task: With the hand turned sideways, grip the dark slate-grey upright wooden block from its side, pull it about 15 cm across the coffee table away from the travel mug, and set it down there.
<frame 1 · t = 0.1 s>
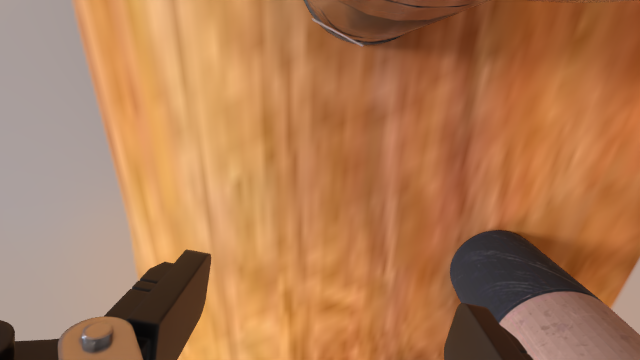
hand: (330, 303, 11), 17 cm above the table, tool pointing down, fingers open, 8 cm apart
travel mug: (491, 266, 30), on the table
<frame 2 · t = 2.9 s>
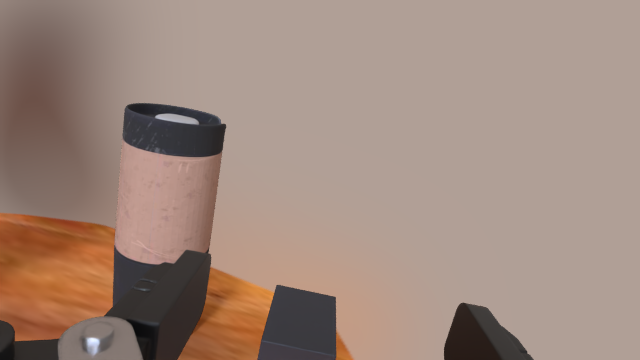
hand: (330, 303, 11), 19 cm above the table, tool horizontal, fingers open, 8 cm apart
travel mug: (155, 325, 34), on the table
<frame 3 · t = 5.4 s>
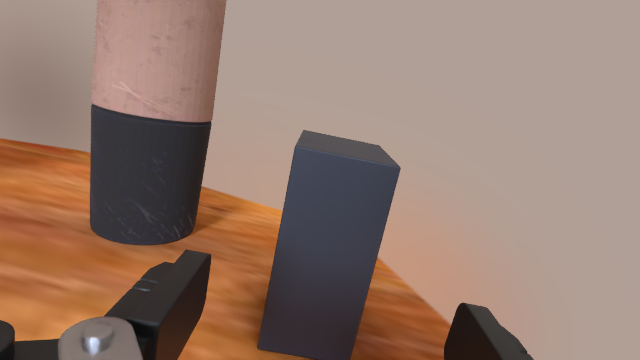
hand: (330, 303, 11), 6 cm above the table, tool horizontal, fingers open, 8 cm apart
slate block: (306, 319, 20), on the table
travel mug: (145, 226, 28), on the table
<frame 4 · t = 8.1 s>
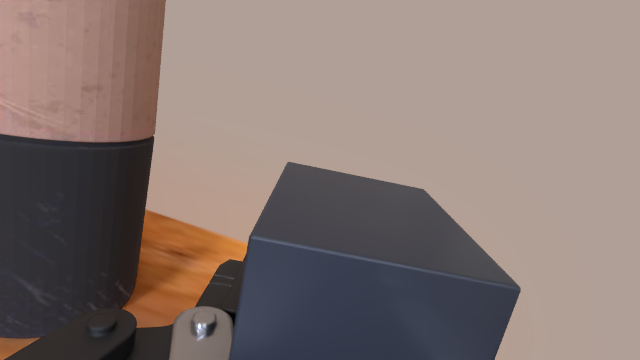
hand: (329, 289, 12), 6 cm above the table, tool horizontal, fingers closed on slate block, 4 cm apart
travel mug: (56, 294, 18), on the table
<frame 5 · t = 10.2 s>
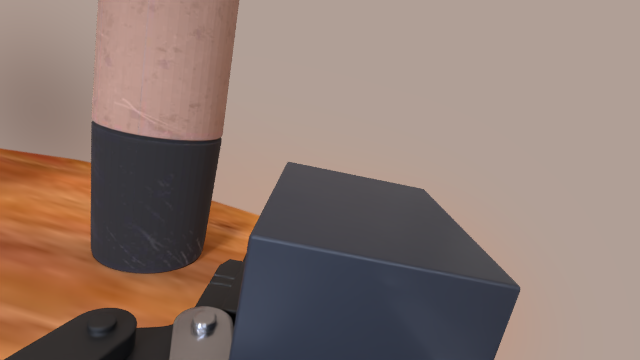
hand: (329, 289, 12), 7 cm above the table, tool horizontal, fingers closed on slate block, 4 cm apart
travel mug: (150, 249, 26), on the table
when the fingers open (6 cm above the table, at t = 12.5 s): slate block stays where it is, on the table.
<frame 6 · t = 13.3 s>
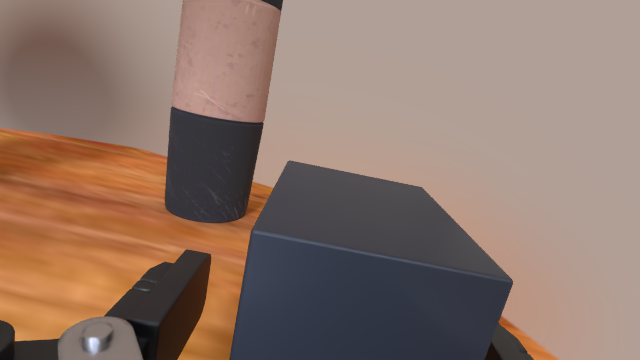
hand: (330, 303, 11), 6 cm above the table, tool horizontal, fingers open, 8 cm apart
travel mug: (206, 209, 33), on the table
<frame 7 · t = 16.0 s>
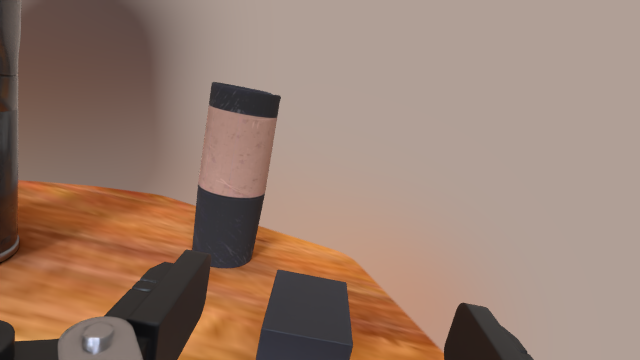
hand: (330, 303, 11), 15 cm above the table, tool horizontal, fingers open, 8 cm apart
travel mug: (222, 255, 44), on the table
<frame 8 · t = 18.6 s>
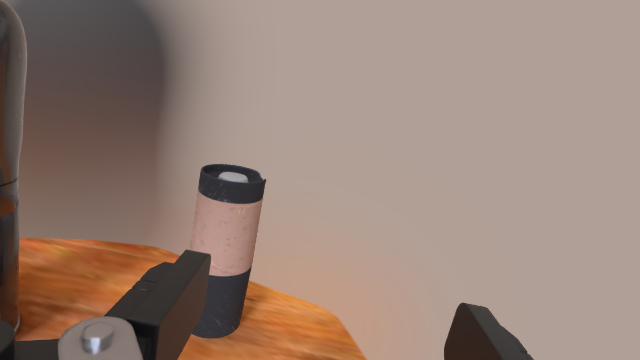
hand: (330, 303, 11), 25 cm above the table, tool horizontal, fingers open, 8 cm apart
travel mug: (212, 321, 47), on the table
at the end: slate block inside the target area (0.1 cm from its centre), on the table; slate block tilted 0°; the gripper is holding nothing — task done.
